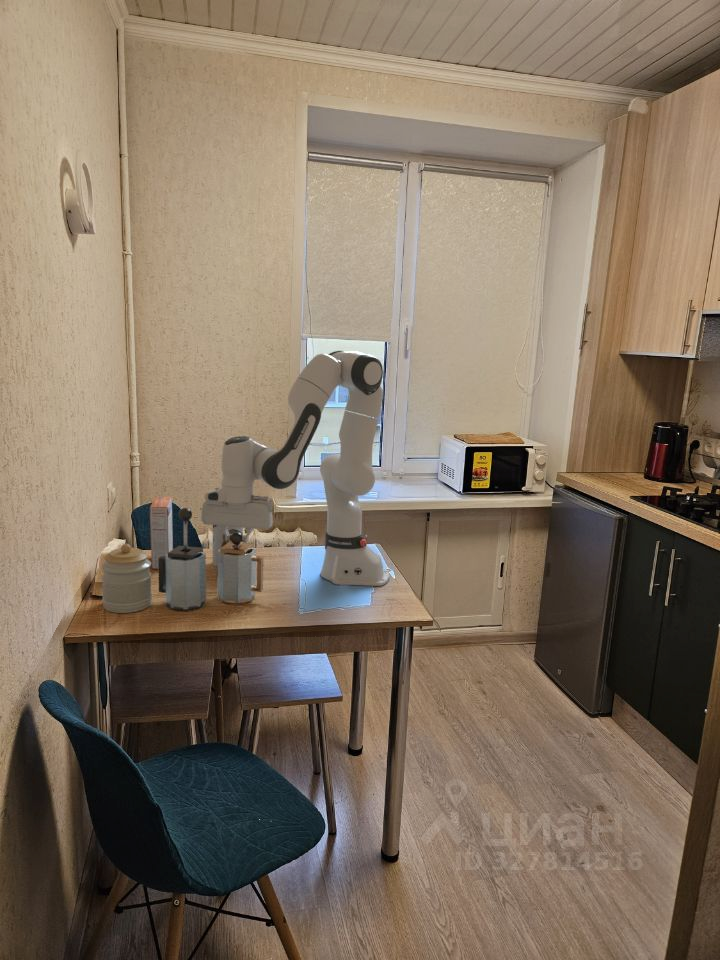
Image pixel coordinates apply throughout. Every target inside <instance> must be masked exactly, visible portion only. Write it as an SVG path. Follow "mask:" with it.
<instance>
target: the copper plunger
mask: <svg viewBox="0 0 720 960" xmlns="http://www.w3.org/2000/svg"><path fill="white" fill-rule="evenodd" d="M242 536H244V534H243V535H242V534H241V533H239V532H235V533H233V534H232V535H231V542H232V543H233V544H235V547H237V548H239V544H241V543H242ZM235 555H239V554H235Z"/></svg>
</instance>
